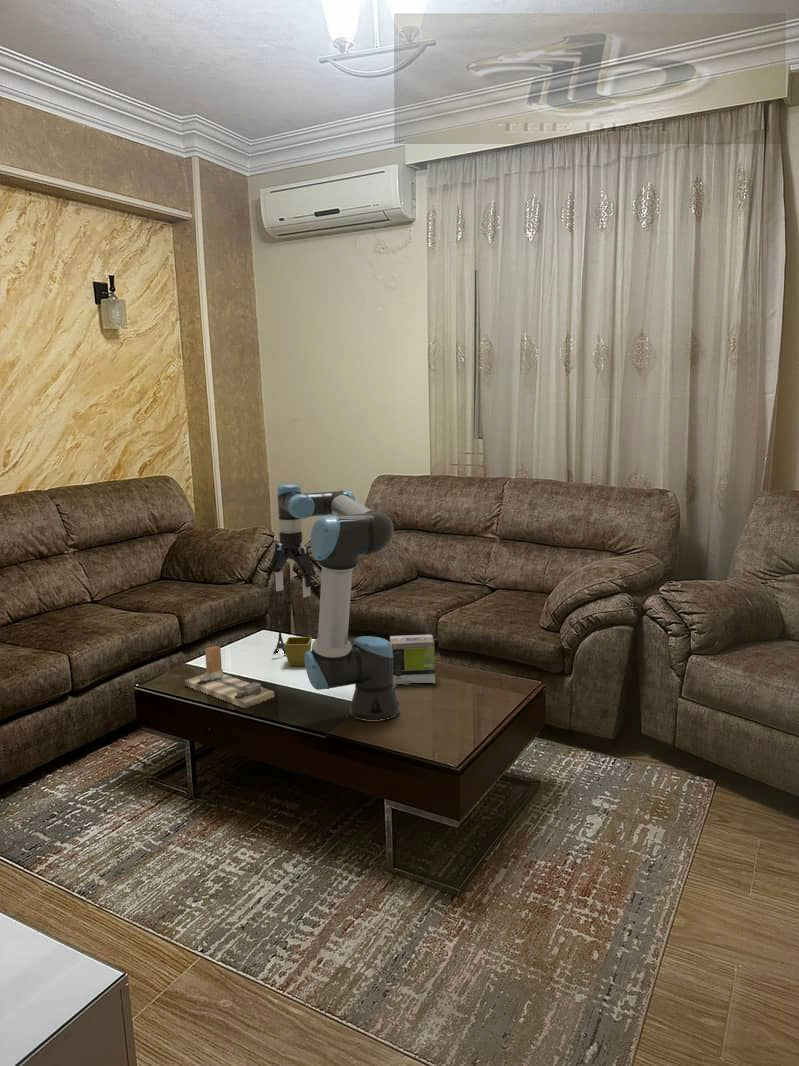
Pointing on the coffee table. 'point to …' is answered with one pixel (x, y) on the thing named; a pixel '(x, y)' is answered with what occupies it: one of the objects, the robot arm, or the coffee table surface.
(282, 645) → the eiffel tower figurine
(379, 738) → the coffee table surface
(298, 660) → the flower pot
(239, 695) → the gauge board
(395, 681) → the tea box
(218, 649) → the slide leg
